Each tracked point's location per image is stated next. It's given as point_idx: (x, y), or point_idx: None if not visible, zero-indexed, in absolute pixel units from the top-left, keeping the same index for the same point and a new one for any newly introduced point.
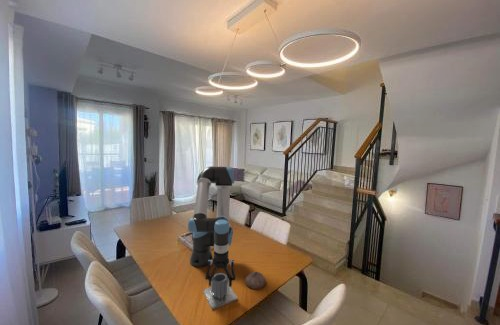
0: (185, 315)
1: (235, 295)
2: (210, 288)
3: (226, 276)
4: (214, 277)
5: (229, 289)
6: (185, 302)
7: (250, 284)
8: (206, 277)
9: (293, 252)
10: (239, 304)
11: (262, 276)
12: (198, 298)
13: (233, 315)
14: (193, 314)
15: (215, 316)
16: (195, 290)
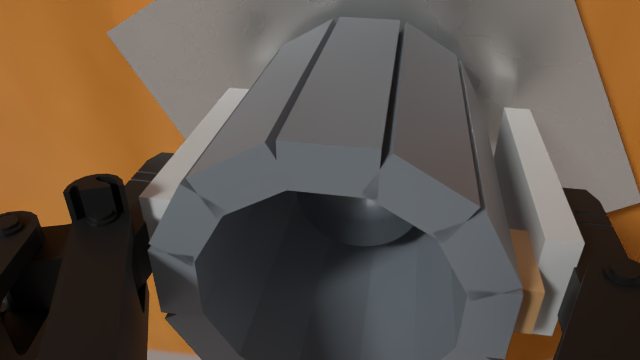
0: None
1: (616, 158)
2: (204, 5)
3: (499, 288)
4: (192, 289)
5: (533, 27)
6: (16, 189)
7: None
8: (22, 323)
9: None
10: (636, 252)
11: None
12: (118, 143)
13: (533, 356)
14: (160, 310)
15: None
16: (10, 4)
